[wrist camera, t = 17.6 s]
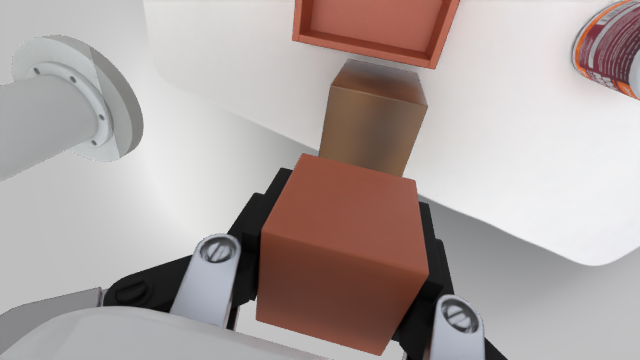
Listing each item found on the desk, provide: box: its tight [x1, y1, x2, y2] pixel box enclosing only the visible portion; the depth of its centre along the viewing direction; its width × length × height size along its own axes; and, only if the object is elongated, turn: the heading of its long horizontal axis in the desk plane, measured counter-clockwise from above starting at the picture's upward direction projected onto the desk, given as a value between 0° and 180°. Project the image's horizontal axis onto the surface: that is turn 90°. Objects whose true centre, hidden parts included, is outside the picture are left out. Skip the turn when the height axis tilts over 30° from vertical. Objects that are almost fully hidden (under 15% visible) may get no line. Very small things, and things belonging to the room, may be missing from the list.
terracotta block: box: [256, 153, 429, 356], centre depth 11 cm, size 4×4×4 cm
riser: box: [318, 59, 428, 177], centre depth 26 cm, size 7×7×10 cm
